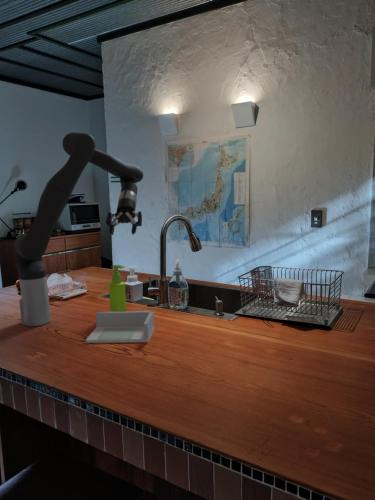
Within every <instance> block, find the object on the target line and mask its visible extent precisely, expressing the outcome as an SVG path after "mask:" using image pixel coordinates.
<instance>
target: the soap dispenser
mask: <svg viewBox="0 0 375 500" xmlns="http://www.w3.org/2000/svg"><path fill="white" fill-rule="evenodd" d="M111 268H113V273H111V282H109V283H108V290H109V291H108V292H109V303H110V304H109V306H110V312H127V297H126V283H125V281H122V274H121V273H120V272H119V269H120V270H121V269H122V270H123V269H125V266H123V265H120V264H114V265H111Z"/></svg>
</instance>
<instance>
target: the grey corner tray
mask: <svg viewBox="0 0 375 500" xmlns="http://www.w3.org/2000/svg"><path fill="white" fill-rule="evenodd" d="M154 313H155V312H154V311H153V310H147V311H146V310H143V311H140V310H138V311H135V310H133V311H128V310H127V311H126V312H111V311H96V312H95V326H96V327H95V328H94V329H93V331H91V333H90V334H89V335H88V336H87V338H86V339H85V344H95V343H96V344H109V343H110V344H112V343H113V344H114V343H116V344H117V343H124V344H125V343H149V342H150V340H151V337H152V335H153V333H154V329H155V318H154V317H155V315H154Z"/></svg>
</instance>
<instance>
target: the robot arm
mask: <svg viewBox="0 0 375 500" xmlns="http://www.w3.org/2000/svg"><path fill="white" fill-rule="evenodd" d="M62 148H63V150H64V152H65V153H66V155H68V156H69V158H68V160H66V161H67V162H66V163H65V164H64V165H63V166H61V168H60V169H59V170H58V171H57V172H56V173H55V174H54V175H52V177H51V178H49V179H48V182H46V185H45V187H44V189H43V191H42V193H41V195H40V198H39V202H38V206H37V211H36V216H35V218H34V220H33V222H32V225H31V227H30V228H29V229H28V231H27V232H25V233H22V234H20V235H19V236H18V237H17V238H16V239H15V241H14V253H15V254H14V255H15V263H16V270H17V272H18V278H19V286H20V296H21V298H20V299H19V301H18V302H19V312H20V320H21V321H20V322H21V325H22V326H26V327H38V326H43V325H46V324H48V323H50V322H51V312H50V311H51V310H50V300H49V289H48V280H47V279H48V276H47V269H46V268H45V267H46V266H45V265H44V262H43V256H44V255H45V253H46V251H47V248H48V246H49V242H50V239H51V237H52V234H53V231H54V229H55V227H56V225H57V223H58V221H59V219H60V218H61V216H62V214H63V212H64V211H65V208H66V206H67V204H68V202H69V200H70V197H72V193H73V191H74V190H75V187H76V185H77V183H78V181H79V179H80V177H81V175H82V173H83V171H84V170H85V168H86V167H87V166H88V164H89V163H90V164H92V165H94V166H95V167H98V168H100V169H102V171H103V170H104V171H105V172H107V173H109V174H110V175H113V176H114V177H116V178H119V182H120V188H121V189H120V193H119V195H118V196H119V197H118V201H117V207H116V212H115V213H112V212H108V213H107V217H106V219H105V220H106V222H105V224H106V226H107V228H109V230H108V232H109V234H110V235H111V236H114V234H115V233H114V232H115V228H116V227H117V226H119V225H120V224H131V225H132V226H131V231H130V232H131V234H132V235H135V234H136V233H137V228H138V227H142V225H143V214H142V211H138V212H136V208H137V194H138V185H137V183H140V182H141V181H142V180H143V179H144V172H143V170H142V169H141V167H139V166H138V165H136V164H133V163H130V162H129V163H128V162H124V161H122V160H121V159H119V158H118V157H117V156H114V155H112V154H110V153H107V152H105V151H102V150H100V149H98V148H96V140H95V137H93V135H91V134H89V133H84V132H70V133H67V134H65V136H64V137H63V138H62ZM135 218H136V219H137V221H136V220H135Z"/></svg>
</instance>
